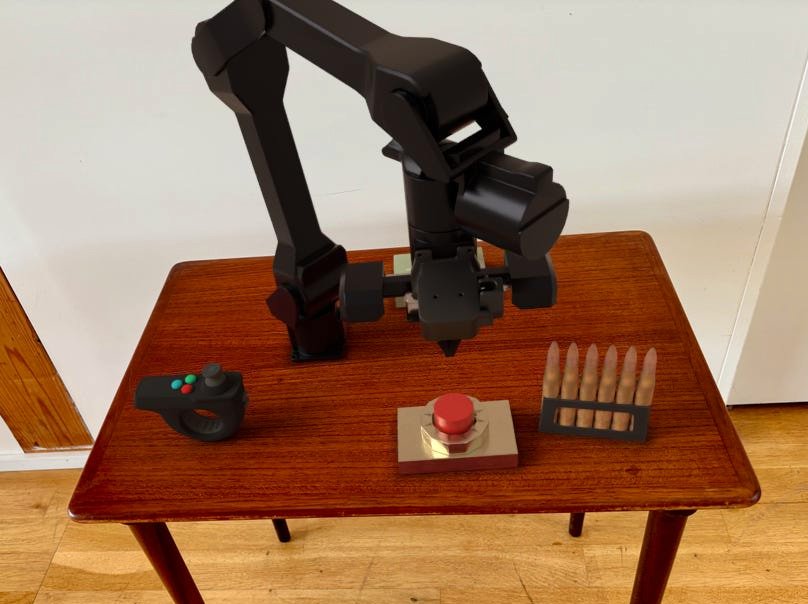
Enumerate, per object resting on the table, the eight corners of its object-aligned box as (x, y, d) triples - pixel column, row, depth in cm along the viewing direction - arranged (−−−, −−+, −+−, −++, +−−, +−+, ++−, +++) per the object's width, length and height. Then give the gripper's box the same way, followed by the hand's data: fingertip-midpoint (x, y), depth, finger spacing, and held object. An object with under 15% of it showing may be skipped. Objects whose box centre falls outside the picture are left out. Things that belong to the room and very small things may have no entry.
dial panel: (396, 309, 93) (394, 290, 91) (395, 271, 100) (393, 252, 98) (488, 301, 92) (488, 281, 90) (481, 263, 99) (481, 244, 97)
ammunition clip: (645, 428, 74) (663, 341, 66) (646, 441, 72) (664, 355, 64) (539, 418, 76) (544, 334, 68) (538, 431, 75) (543, 346, 67)
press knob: (435, 436, 72) (434, 422, 70) (433, 407, 75) (432, 393, 73) (475, 433, 71) (475, 419, 70) (472, 404, 74) (471, 391, 73)
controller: (254, 447, 78) (232, 382, 72) (149, 448, 80) (117, 385, 74) (262, 418, 82) (241, 354, 75) (161, 420, 83) (131, 357, 77)
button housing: (400, 475, 73) (396, 449, 70) (398, 421, 79) (395, 396, 76) (518, 467, 72) (518, 441, 69) (508, 413, 78) (508, 387, 75)
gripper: (322, 282, 53) (350, 422, 64) (576, 260, 51) (562, 408, 62) (331, 205, 61) (355, 341, 72) (550, 184, 60) (542, 326, 70)
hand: (449, 354), depth 69 cm, fingers closed
